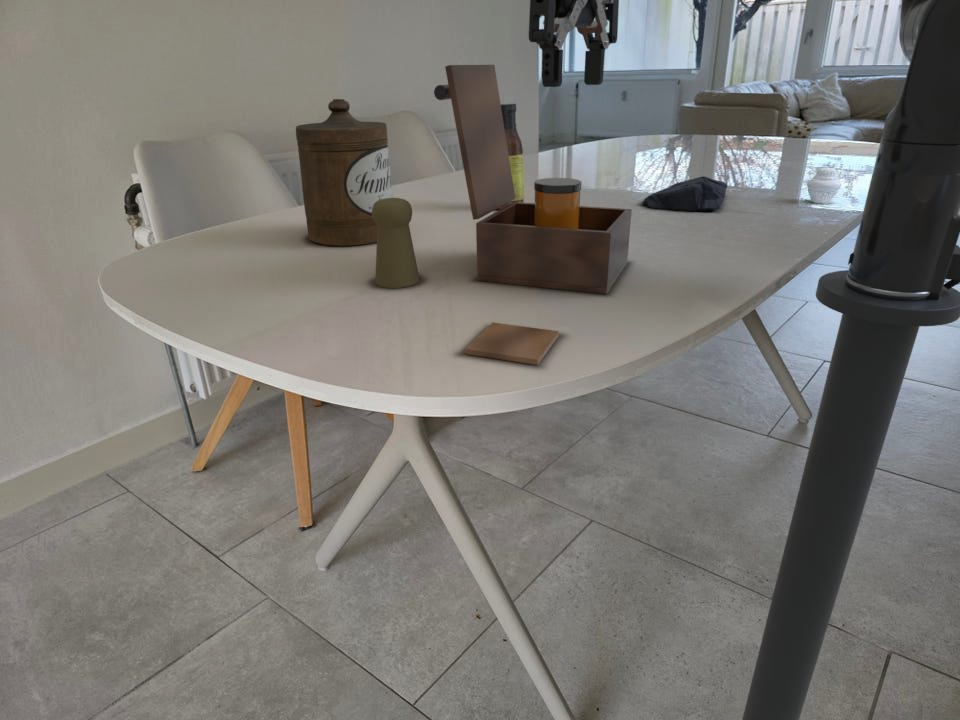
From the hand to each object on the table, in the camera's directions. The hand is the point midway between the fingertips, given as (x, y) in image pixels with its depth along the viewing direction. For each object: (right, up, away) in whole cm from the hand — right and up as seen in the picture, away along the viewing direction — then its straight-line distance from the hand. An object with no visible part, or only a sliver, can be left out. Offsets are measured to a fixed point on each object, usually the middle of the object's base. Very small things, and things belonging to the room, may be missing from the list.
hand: (573, 85), depth 72 cm
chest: (0, -20, +15) cm, 25 cm away
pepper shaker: (-22, -21, +12) cm, 33 cm away
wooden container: (-33, -10, +36) cm, 50 cm away
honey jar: (0, -19, +14) cm, 24 cm away
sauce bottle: (-5, -1, +55) cm, 55 cm away
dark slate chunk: (+33, +1, +58) cm, 67 cm away
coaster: (-7, -30, -8) cm, 32 cm away
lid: (-10, -2, +11) cm, 15 cm away
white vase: (+59, 0, +54) cm, 80 cm away
